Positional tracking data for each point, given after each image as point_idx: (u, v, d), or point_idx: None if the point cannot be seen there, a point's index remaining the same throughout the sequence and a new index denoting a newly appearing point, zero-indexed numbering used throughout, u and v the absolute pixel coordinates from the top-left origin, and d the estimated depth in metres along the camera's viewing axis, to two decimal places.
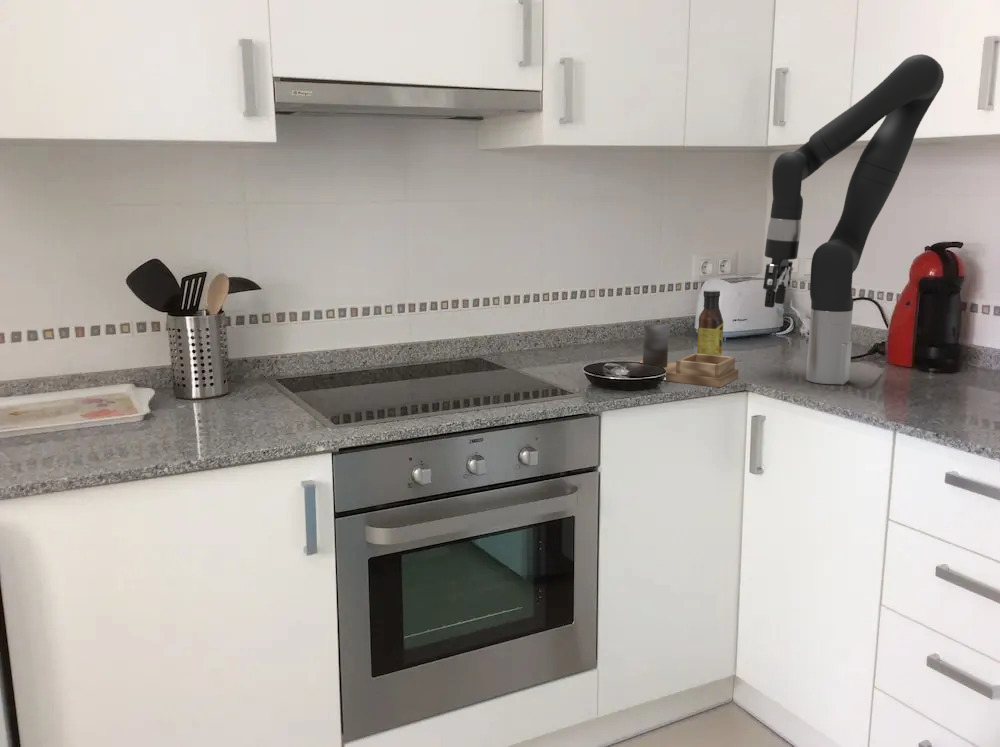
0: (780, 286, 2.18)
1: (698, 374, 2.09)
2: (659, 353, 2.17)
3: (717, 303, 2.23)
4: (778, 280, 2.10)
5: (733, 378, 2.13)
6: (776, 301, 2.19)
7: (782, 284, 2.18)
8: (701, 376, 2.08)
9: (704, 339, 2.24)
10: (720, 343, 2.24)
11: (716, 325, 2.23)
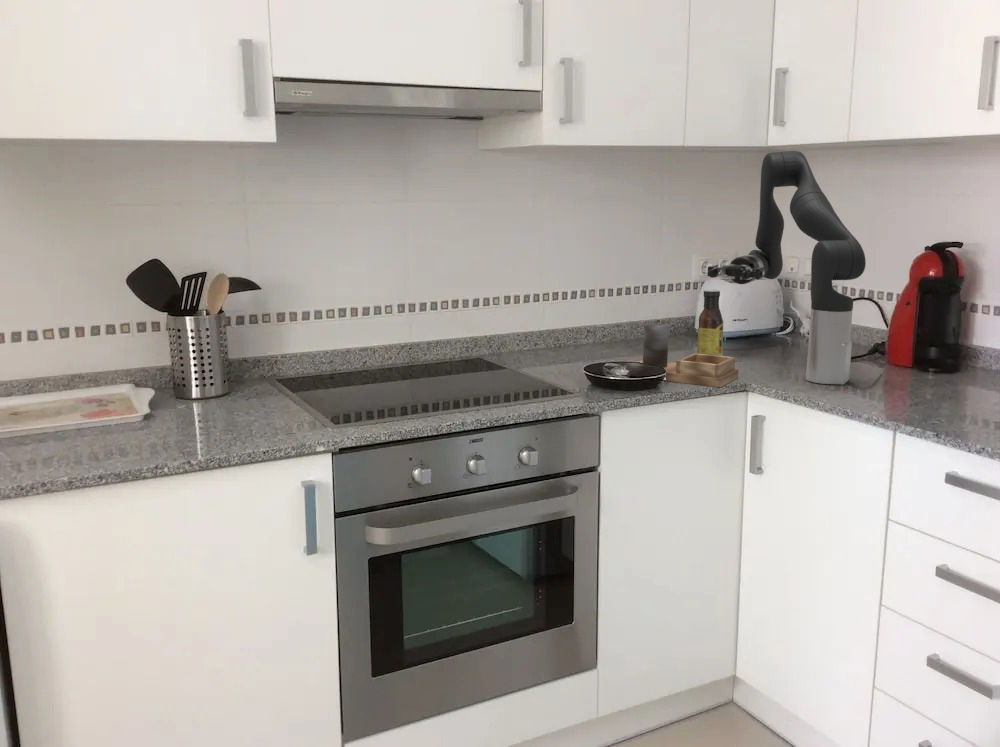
0: None
1: (698, 374, 2.09)
2: (659, 353, 2.17)
3: (717, 303, 2.23)
4: None
5: (733, 378, 2.13)
6: None
7: None
8: (701, 376, 2.08)
9: (704, 339, 2.24)
10: (720, 343, 2.24)
11: (716, 325, 2.23)
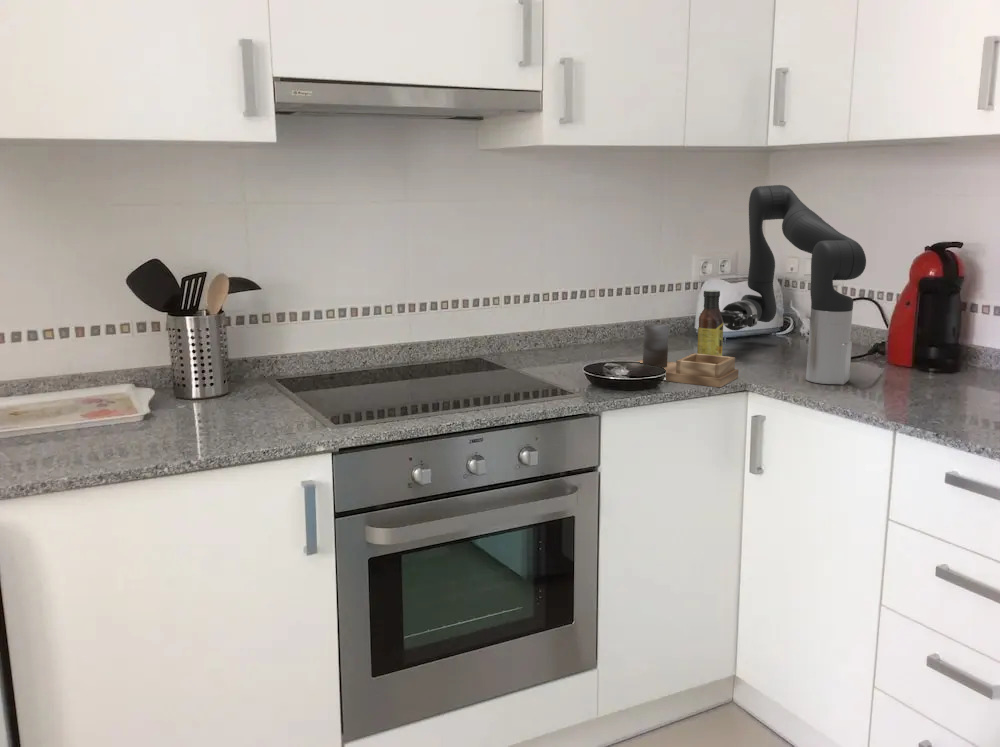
0: None
1: (698, 374, 2.09)
2: (659, 353, 2.17)
3: (717, 303, 2.23)
4: None
5: (733, 378, 2.13)
6: None
7: None
8: (701, 376, 2.08)
9: (704, 339, 2.24)
10: (720, 343, 2.24)
11: (716, 325, 2.23)
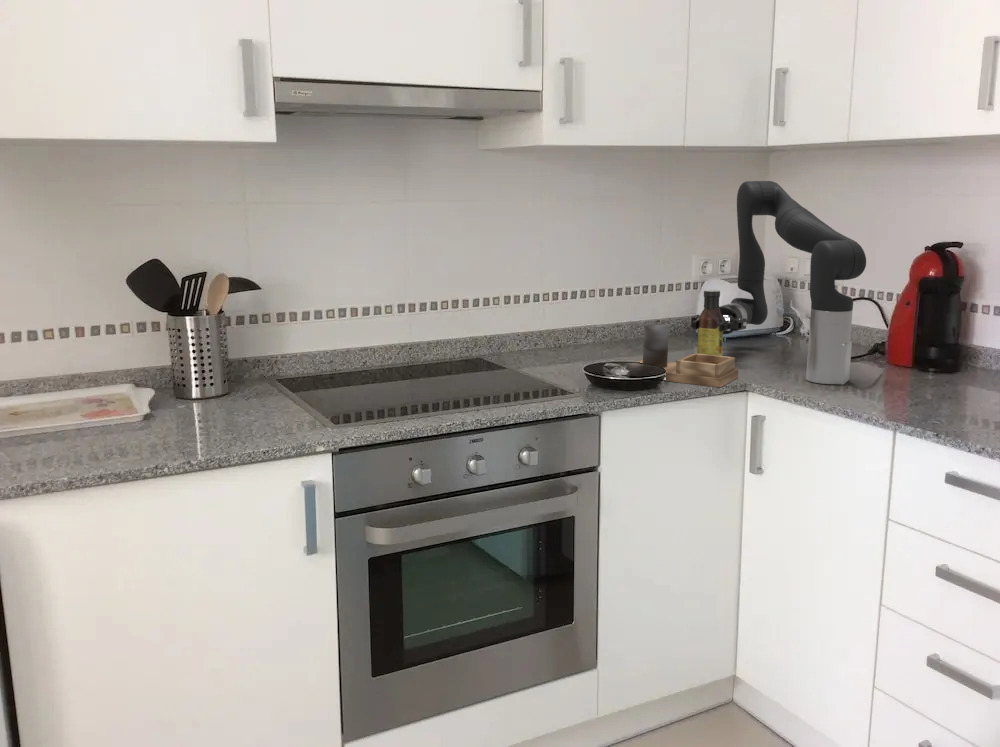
0: None
1: (698, 374, 2.09)
2: (659, 353, 2.17)
3: (717, 303, 2.23)
4: None
5: (733, 378, 2.13)
6: None
7: None
8: (701, 376, 2.08)
9: (704, 339, 2.24)
10: (720, 343, 2.24)
11: (716, 325, 2.23)
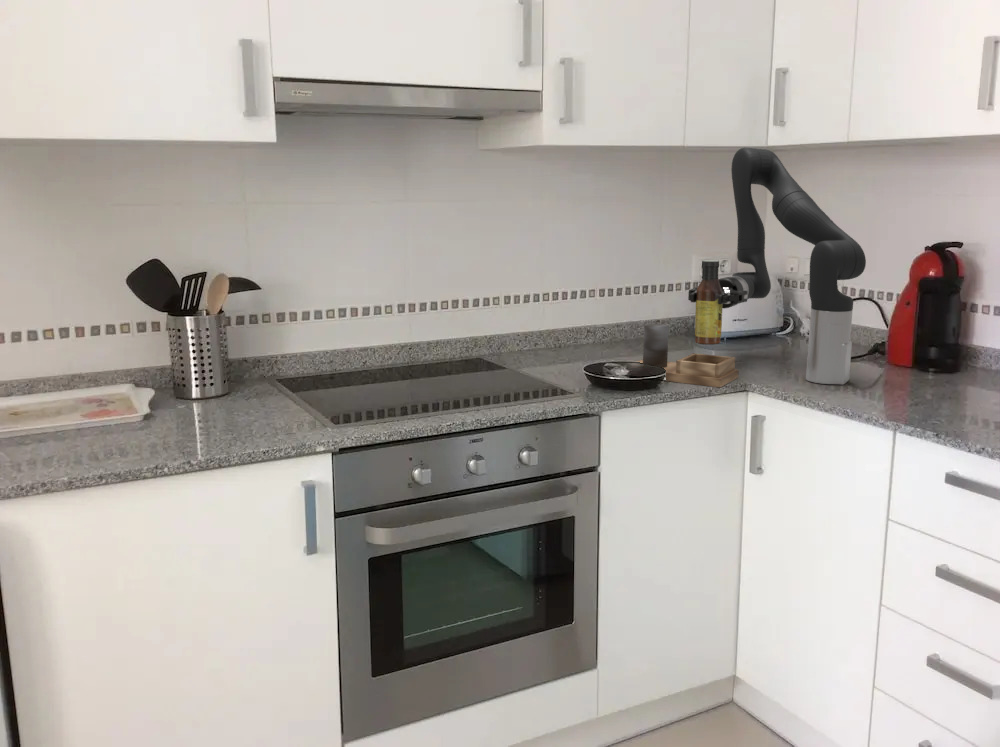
0: None
1: (698, 374, 2.09)
2: (659, 353, 2.17)
3: (716, 274, 2.10)
4: None
5: (733, 378, 2.13)
6: None
7: None
8: (701, 376, 2.08)
9: (702, 312, 2.10)
10: (719, 317, 2.11)
11: (714, 297, 2.09)
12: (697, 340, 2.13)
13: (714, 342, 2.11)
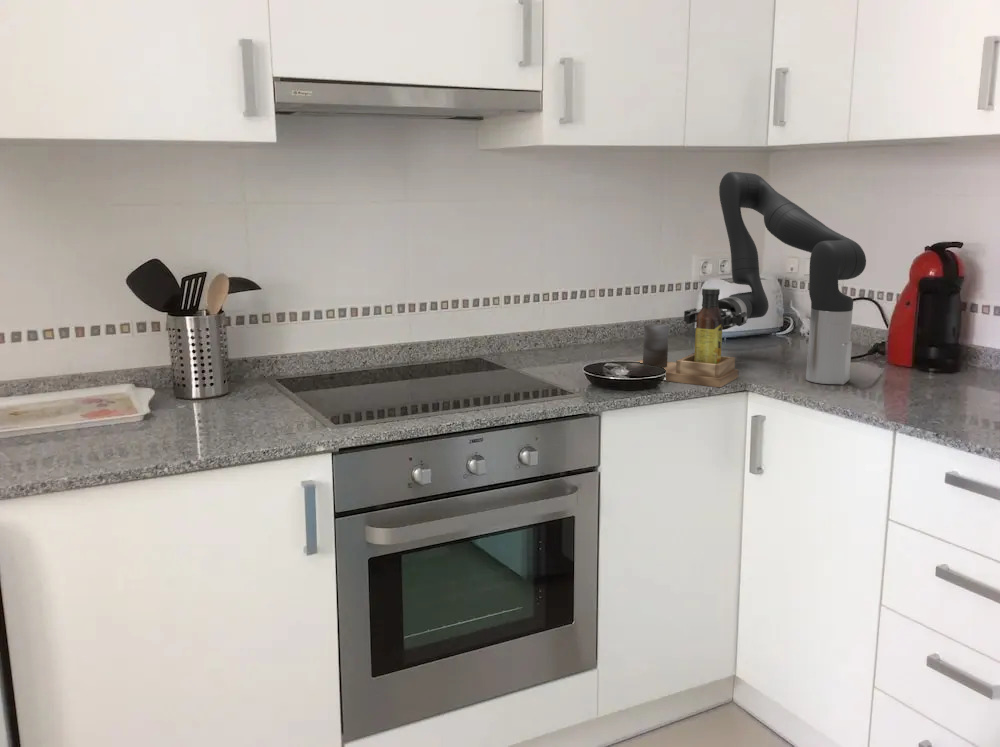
0: None
1: (698, 374, 2.09)
2: (659, 353, 2.17)
3: (716, 302, 2.10)
4: None
5: (733, 378, 2.13)
6: None
7: None
8: (701, 376, 2.08)
9: (702, 340, 2.10)
10: (719, 345, 2.10)
11: (714, 325, 2.09)
12: None
13: None
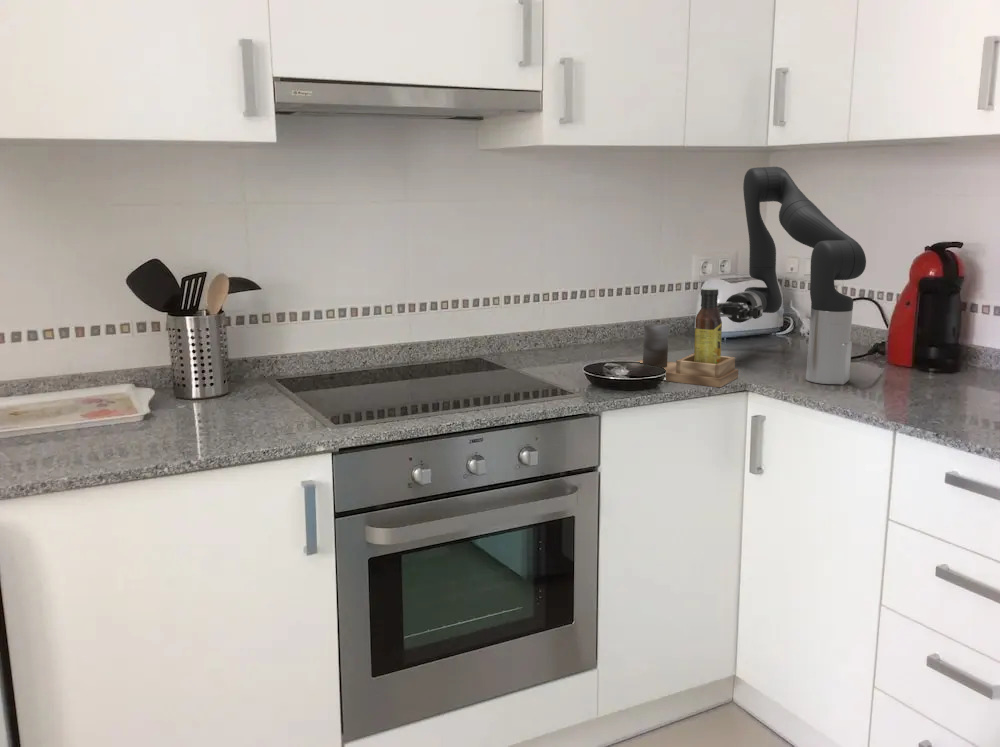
0: None
1: (698, 374, 2.09)
2: (659, 353, 2.17)
3: (715, 302, 2.09)
4: None
5: (733, 378, 2.13)
6: None
7: None
8: (701, 376, 2.08)
9: (702, 341, 2.10)
10: (718, 345, 2.10)
11: (713, 326, 2.09)
12: None
13: None
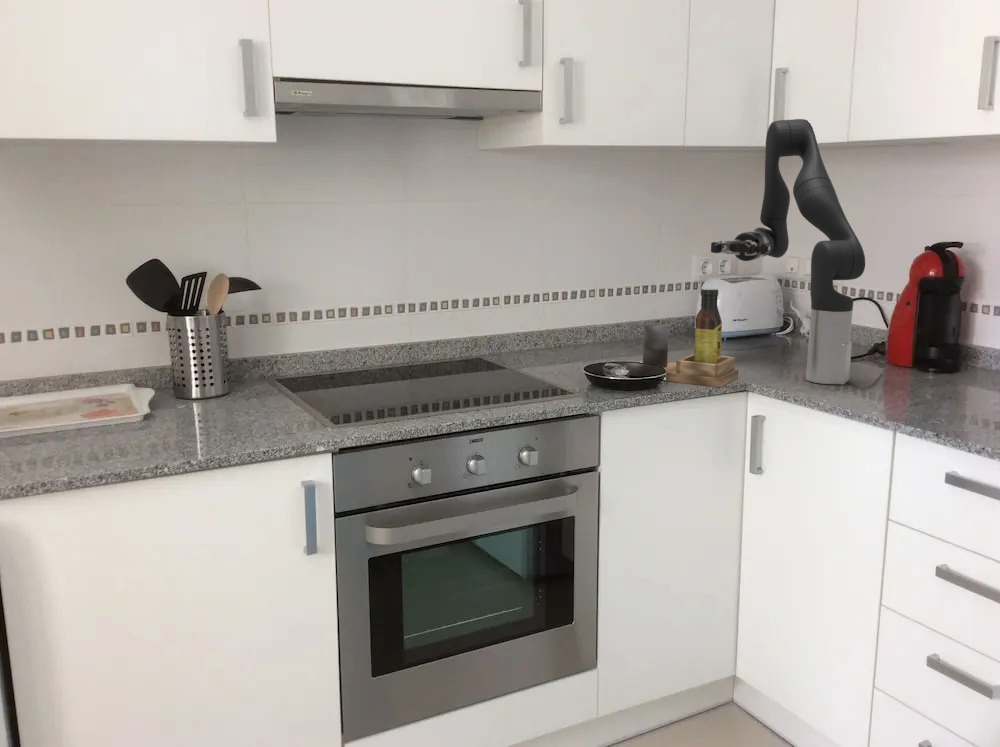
0: None
1: (698, 374, 2.09)
2: (659, 353, 2.17)
3: (715, 302, 2.09)
4: None
5: (733, 378, 2.13)
6: None
7: None
8: (701, 376, 2.08)
9: (702, 341, 2.10)
10: (718, 345, 2.10)
11: (714, 326, 2.09)
12: None
13: None
